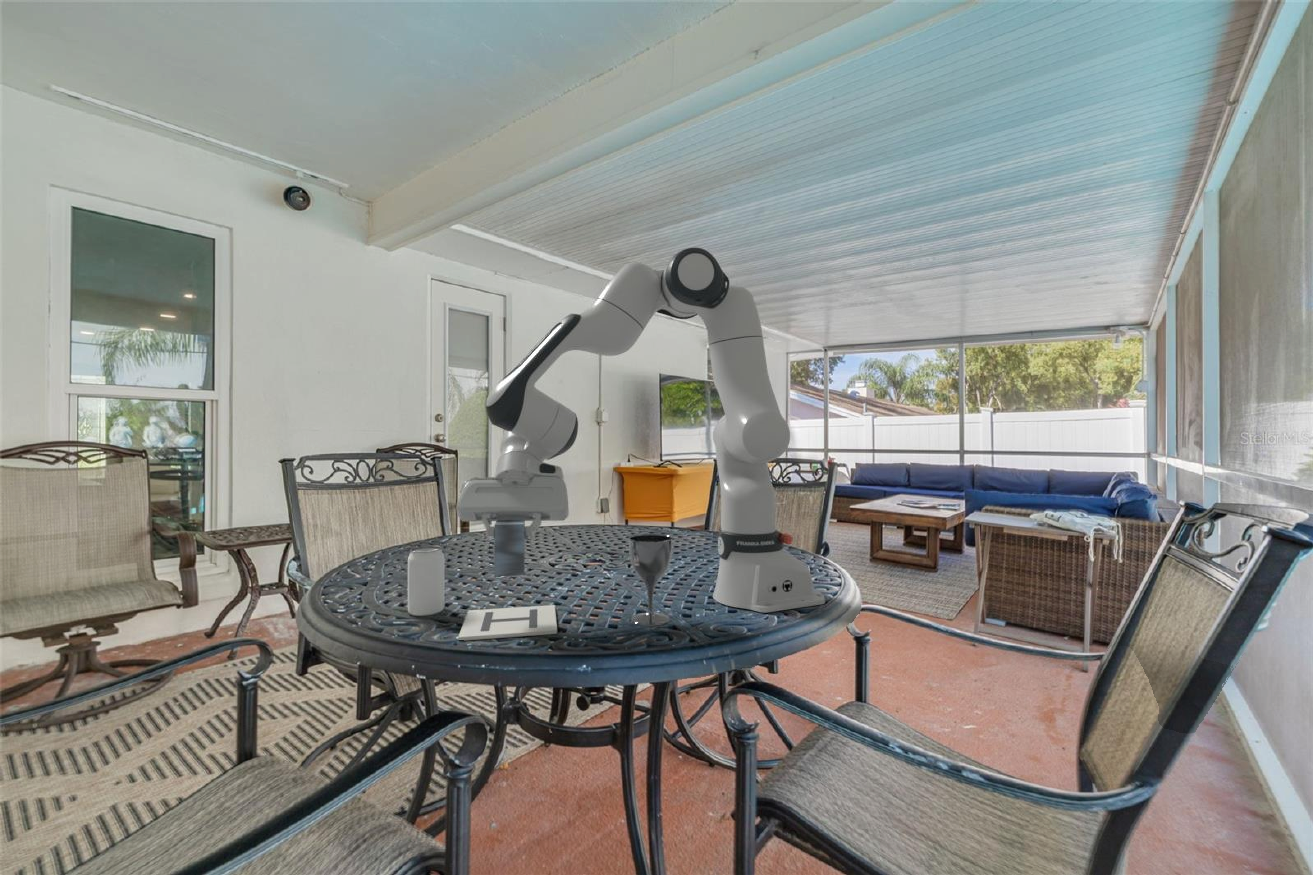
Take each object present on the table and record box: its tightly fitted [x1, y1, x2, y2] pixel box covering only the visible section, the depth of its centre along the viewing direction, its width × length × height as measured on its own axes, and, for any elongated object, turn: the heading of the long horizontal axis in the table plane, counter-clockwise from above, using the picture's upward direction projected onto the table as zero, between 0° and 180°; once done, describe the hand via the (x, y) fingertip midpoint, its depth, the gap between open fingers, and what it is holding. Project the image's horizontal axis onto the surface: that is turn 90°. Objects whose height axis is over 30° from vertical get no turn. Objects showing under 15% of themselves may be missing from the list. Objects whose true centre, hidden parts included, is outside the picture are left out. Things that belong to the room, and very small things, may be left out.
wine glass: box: [628, 533, 673, 627], centre depth 102 cm, size 8×8×15 cm
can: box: [407, 545, 445, 617], centre depth 106 cm, size 6×6×12 cm
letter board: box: [457, 604, 558, 641], centre depth 100 cm, size 16×14×1 cm
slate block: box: [493, 520, 526, 577], centre depth 100 cm, size 5×5×9 cm
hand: (509, 537), depth 99 cm, fingers closed on slate block, 5 cm apart
